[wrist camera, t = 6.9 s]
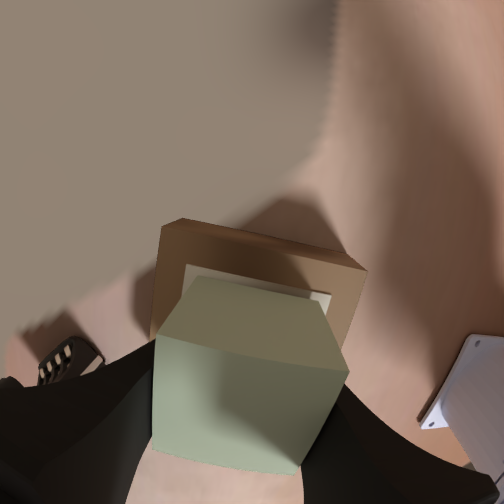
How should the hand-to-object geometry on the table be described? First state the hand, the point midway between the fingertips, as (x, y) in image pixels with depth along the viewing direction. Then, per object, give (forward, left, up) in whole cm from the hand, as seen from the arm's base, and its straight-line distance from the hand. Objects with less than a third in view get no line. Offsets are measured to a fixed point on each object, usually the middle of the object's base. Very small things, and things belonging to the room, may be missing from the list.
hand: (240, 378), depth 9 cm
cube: (0, 0, -2) cm, 2 cm away
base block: (0, 0, -5) cm, 5 cm away
